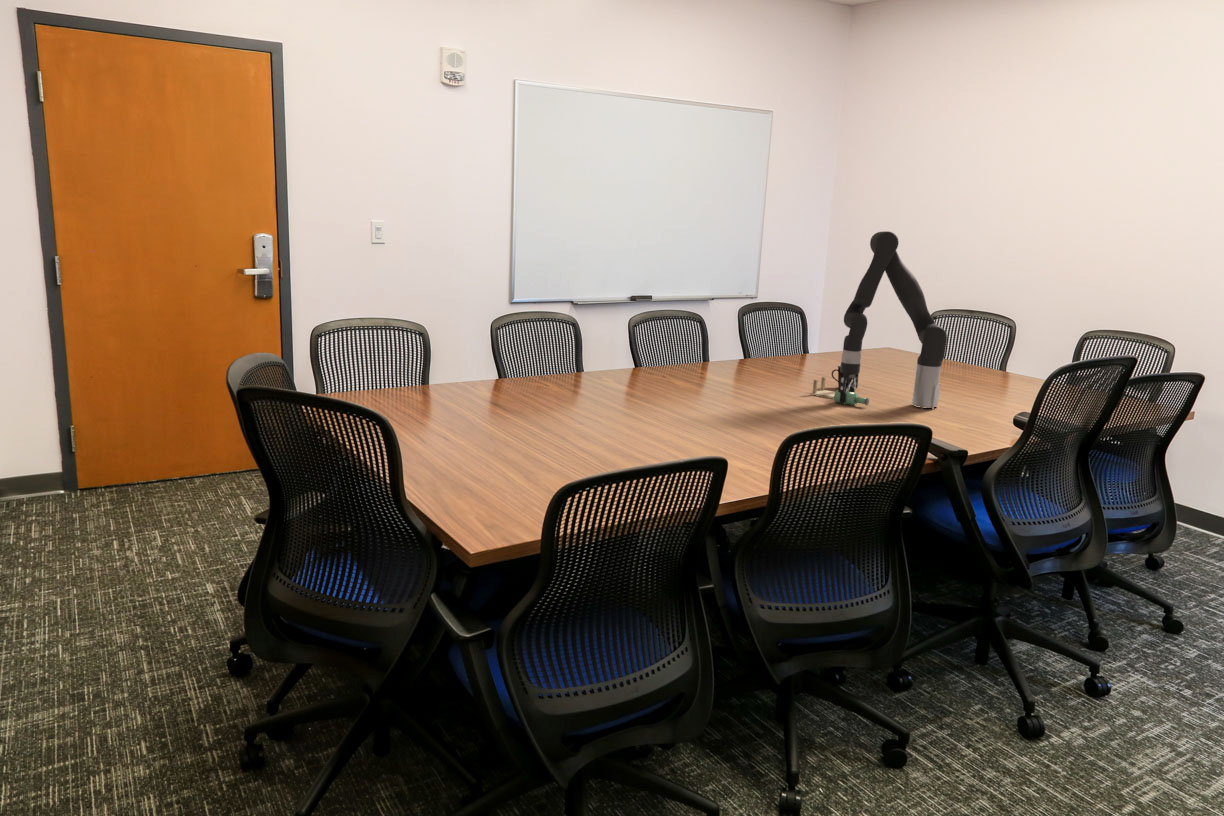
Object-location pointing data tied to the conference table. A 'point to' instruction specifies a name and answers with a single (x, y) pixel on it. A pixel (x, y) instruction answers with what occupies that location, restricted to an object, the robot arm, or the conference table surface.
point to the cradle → (822, 390)
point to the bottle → (851, 398)
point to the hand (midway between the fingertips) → (846, 400)
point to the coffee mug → (838, 374)
